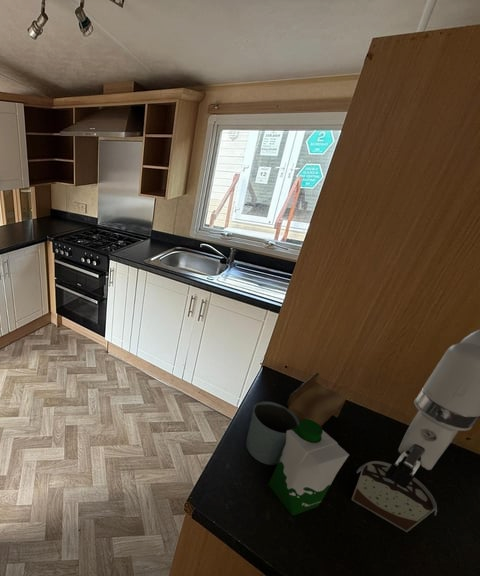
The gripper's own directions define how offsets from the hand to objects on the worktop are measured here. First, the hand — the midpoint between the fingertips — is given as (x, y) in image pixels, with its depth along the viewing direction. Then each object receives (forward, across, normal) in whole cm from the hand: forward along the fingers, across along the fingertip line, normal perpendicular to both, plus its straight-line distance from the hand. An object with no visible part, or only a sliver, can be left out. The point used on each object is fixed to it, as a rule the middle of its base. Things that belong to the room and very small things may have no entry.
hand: (402, 468), depth 64 cm
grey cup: (+13, -8, +22) cm, 26 cm away
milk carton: (+13, -14, +12) cm, 22 cm away
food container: (+13, 0, 0) cm, 13 cm away
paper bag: (+13, +13, +19) cm, 26 cm away
